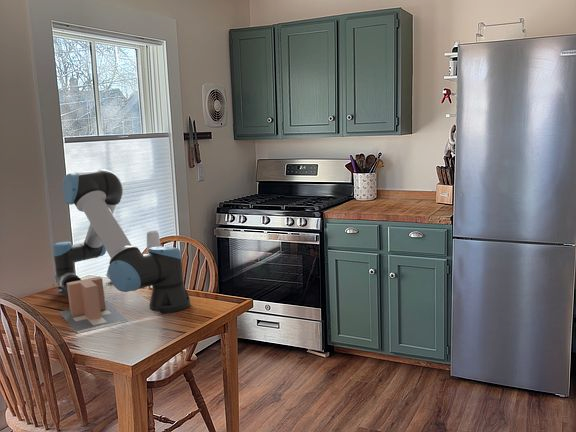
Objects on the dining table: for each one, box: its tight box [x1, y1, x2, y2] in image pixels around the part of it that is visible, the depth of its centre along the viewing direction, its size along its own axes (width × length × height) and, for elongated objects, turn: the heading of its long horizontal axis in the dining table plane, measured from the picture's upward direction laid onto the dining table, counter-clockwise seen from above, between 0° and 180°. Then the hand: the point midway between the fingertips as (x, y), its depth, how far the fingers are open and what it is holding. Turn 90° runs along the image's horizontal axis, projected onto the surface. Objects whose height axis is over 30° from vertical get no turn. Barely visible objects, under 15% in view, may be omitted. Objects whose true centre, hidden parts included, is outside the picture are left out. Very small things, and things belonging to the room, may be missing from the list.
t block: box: [67, 276, 106, 320], centre depth 212 cm, size 13×12×12 cm
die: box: [105, 264, 110, 280], centre depth 263 cm, size 8×9×10 cm
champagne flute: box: [146, 230, 162, 289], centre depth 249 cm, size 7×7×24 cm
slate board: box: [58, 301, 128, 335], centre depth 212 cm, size 28×18×1 cm, turn 32°
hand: (84, 295), depth 218 cm, fingers closed
